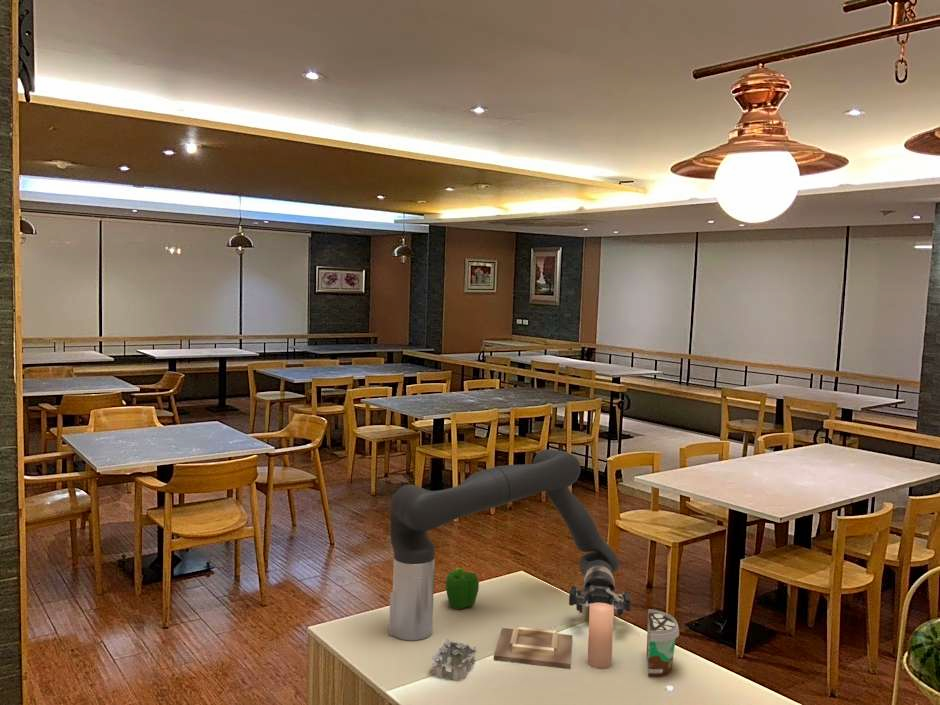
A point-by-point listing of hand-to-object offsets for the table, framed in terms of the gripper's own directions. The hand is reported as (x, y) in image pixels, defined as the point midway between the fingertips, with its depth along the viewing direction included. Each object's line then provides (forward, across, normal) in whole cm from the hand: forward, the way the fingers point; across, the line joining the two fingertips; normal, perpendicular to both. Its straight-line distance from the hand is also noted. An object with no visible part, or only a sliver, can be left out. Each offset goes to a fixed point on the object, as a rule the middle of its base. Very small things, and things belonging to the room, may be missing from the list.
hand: (600, 610), depth 165 cm
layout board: (+9, -14, +7) cm, 18 cm away
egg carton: (+21, -30, +7) cm, 37 cm away
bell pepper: (-11, -34, +7) cm, 36 cm away
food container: (+11, +13, +7) cm, 18 cm away
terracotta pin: (+12, 0, +7) cm, 13 cm away
